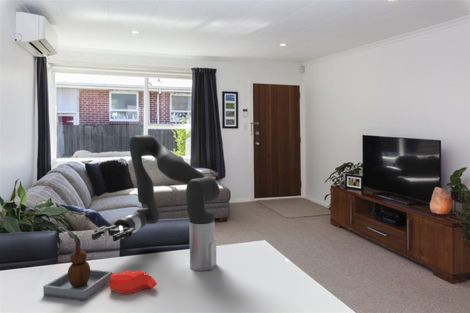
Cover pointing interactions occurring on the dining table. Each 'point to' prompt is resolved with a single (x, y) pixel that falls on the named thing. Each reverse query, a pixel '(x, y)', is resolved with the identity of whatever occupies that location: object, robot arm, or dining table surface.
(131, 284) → the animal figurine
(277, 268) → the dining table surface
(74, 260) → the wooden figurine
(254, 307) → the dining table surface
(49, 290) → the slate dish
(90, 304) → the dining table surface
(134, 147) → the robot arm
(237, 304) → the dining table surface
